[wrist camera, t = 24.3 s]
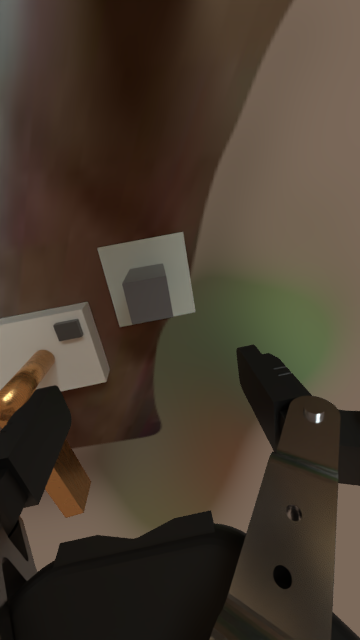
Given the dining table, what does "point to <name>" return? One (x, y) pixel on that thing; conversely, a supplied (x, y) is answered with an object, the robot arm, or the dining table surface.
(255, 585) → the robot arm
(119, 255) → the mat
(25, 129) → the dining table surface
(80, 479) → the orange lever handle
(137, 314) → the plug
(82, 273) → the dining table surface
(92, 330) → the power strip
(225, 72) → the dining table surface
